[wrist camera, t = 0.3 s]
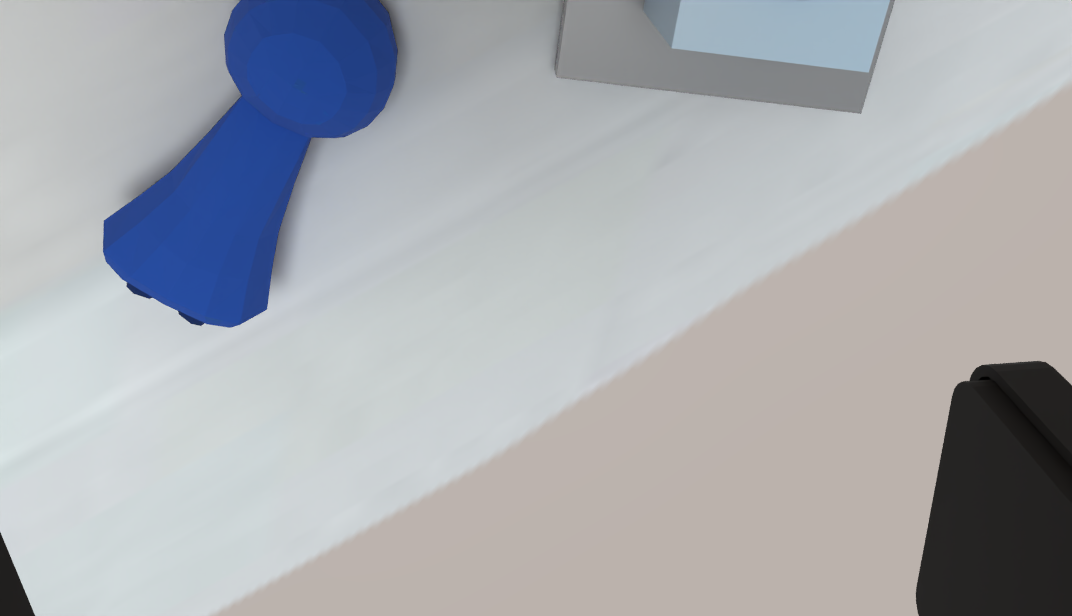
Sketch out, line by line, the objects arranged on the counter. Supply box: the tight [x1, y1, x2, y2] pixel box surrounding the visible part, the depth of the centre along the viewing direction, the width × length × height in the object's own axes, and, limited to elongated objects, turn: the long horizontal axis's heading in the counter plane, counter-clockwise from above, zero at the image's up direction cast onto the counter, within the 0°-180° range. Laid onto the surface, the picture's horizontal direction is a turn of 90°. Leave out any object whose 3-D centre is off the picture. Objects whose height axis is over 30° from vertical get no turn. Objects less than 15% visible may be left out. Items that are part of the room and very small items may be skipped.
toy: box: [103, 0, 398, 327], centre depth 35 cm, size 7×6×15 cm
